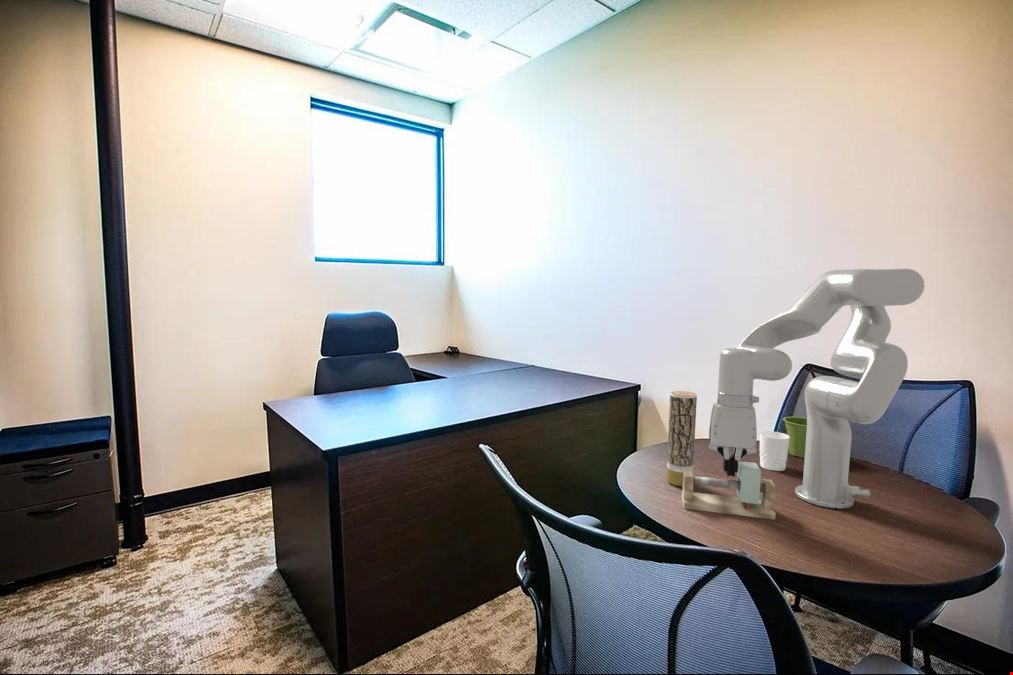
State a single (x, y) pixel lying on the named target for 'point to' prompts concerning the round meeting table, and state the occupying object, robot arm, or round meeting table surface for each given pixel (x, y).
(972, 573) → the round meeting table surface
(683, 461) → the paper tube
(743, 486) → the collar
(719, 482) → the rod stand
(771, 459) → the white cup
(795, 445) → the plant pot
